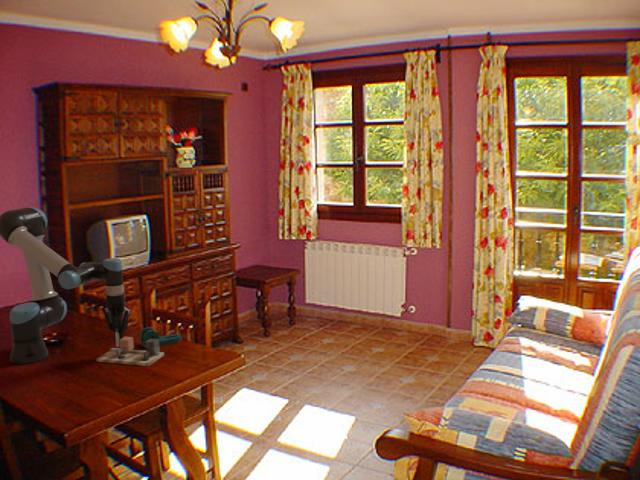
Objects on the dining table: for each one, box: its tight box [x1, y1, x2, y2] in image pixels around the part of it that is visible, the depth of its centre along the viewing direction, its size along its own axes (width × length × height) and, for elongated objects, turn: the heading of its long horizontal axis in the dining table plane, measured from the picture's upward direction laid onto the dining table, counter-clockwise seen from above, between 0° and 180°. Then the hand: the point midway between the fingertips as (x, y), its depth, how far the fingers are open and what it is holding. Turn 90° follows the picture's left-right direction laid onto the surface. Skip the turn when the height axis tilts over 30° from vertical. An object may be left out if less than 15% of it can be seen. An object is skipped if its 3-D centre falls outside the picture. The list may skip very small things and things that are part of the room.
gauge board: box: [96, 339, 165, 367], centre depth 259 cm, size 25×13×8 cm, turn 75°
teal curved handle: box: [139, 326, 182, 349], centre depth 278 cm, size 18×7×8 cm, turn 121°
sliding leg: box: [117, 336, 135, 357], centre depth 261 cm, size 4×9×6 cm, turn 165°
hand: (119, 345), depth 264 cm, fingers closed
